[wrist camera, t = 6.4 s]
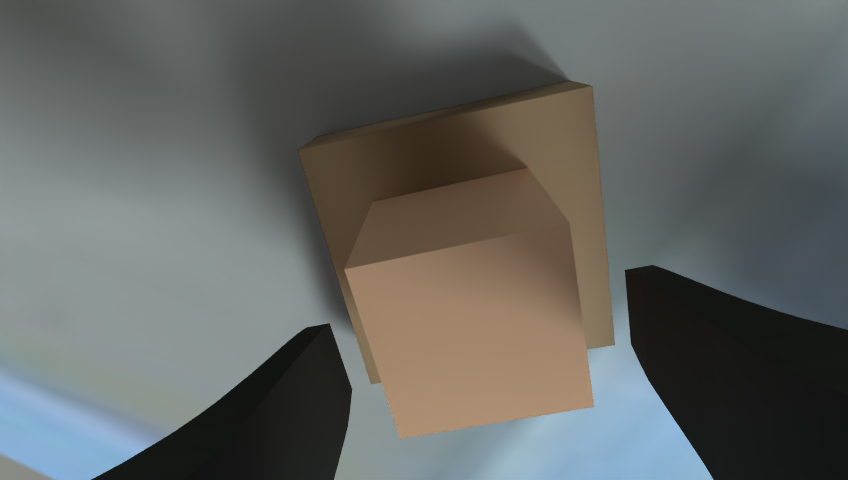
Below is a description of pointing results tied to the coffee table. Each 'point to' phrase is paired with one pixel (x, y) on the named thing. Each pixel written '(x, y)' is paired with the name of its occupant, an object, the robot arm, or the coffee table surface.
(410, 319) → the cube
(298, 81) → the coffee table surface
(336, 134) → the tan flat block
